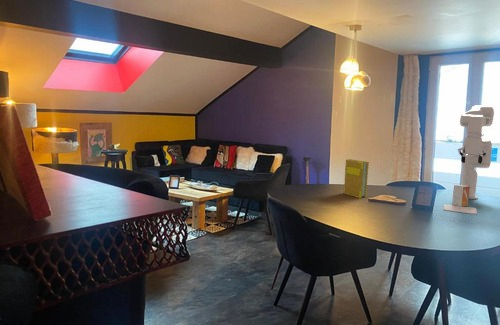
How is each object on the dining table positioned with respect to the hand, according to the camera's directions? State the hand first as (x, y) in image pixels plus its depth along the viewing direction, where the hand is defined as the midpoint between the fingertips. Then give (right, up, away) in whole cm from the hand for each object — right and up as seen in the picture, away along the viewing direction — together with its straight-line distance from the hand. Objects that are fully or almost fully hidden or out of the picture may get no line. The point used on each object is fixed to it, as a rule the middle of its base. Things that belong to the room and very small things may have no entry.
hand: (471, 163), depth 240 cm
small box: (-2, -28, +10) cm, 30 cm away
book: (-64, -23, +36) cm, 77 cm away
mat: (-7, -29, 0) cm, 30 cm away
